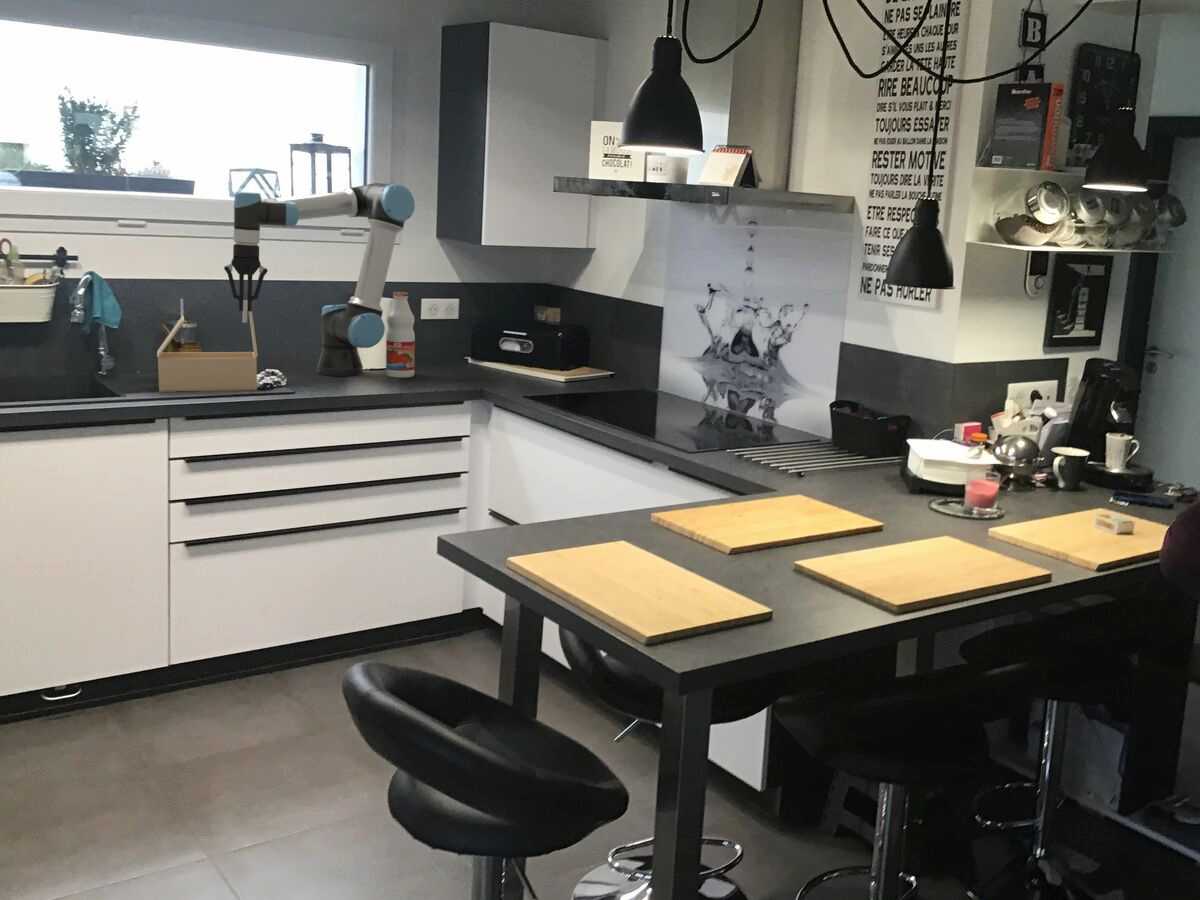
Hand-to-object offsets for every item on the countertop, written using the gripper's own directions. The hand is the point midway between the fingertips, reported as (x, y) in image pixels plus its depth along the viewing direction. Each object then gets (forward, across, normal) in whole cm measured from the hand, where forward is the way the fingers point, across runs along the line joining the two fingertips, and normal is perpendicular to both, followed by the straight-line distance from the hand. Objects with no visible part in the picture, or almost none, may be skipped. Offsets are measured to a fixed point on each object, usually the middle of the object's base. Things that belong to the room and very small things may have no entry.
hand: (244, 322), depth 360 cm
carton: (+21, +10, 0) cm, 23 cm away
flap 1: (+5, +21, 0) cm, 22 cm away
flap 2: (+3, -2, 0) cm, 4 cm away
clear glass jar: (+21, +17, -19) cm, 33 cm away
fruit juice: (+18, -52, -18) cm, 58 cm away
